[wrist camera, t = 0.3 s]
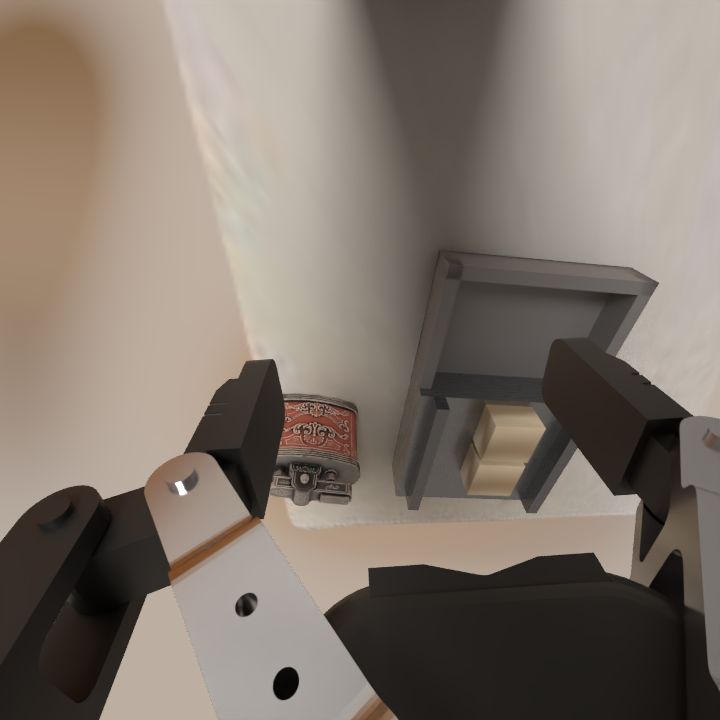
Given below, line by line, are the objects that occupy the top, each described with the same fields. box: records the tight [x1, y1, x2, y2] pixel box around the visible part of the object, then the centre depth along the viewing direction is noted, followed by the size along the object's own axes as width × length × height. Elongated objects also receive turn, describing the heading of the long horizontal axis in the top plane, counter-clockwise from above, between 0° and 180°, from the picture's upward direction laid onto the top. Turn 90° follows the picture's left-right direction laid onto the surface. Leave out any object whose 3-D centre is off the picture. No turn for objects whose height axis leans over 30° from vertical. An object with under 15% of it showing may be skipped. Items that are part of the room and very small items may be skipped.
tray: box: [414, 250, 659, 389], centre depth 29 cm, size 10×15×3 cm
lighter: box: [269, 393, 360, 506], centre depth 31 cm, size 8×3×10 cm, turn 78°
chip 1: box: [473, 404, 546, 463], centre depth 30 cm, size 4×4×2 cm
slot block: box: [392, 368, 578, 513], centre depth 35 cm, size 13×15×6 cm
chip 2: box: [460, 443, 525, 496], centre depth 33 cm, size 4×4×2 cm
